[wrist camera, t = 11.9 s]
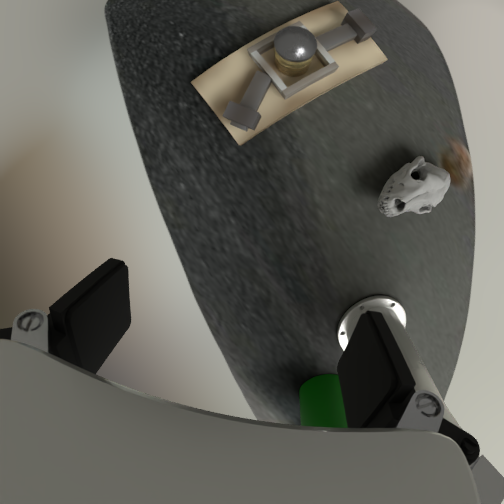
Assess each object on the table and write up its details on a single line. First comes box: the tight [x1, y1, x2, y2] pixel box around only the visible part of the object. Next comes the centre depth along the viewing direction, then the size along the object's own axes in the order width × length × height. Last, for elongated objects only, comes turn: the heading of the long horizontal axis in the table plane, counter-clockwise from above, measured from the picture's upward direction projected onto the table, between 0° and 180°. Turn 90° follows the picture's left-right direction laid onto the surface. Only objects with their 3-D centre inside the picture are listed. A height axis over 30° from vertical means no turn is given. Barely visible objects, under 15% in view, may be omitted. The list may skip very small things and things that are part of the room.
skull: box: [377, 156, 450, 217], centre depth 30 cm, size 8×9×12 cm
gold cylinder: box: [274, 26, 317, 77], centre depth 24 cm, size 4×4×7 cm
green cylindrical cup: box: [299, 374, 348, 428], centre depth 40 cm, size 10×9×20 cm
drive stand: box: [191, 1, 388, 145], centre depth 27 cm, size 11×24×6 cm, turn 125°
